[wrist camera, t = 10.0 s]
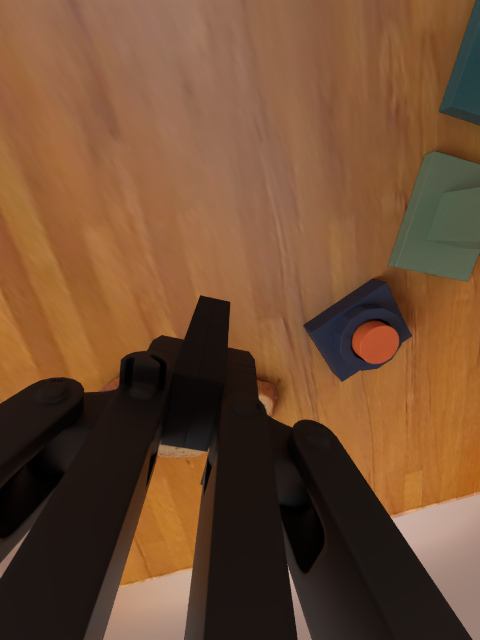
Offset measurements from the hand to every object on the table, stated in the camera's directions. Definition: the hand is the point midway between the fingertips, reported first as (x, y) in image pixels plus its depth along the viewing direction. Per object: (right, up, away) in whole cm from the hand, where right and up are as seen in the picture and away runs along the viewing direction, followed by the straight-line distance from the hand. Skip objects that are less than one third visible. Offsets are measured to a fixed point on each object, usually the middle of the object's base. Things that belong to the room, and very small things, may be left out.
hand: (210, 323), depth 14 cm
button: (+16, -2, +17) cm, 24 cm away
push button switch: (+16, -1, +21) cm, 26 cm away
